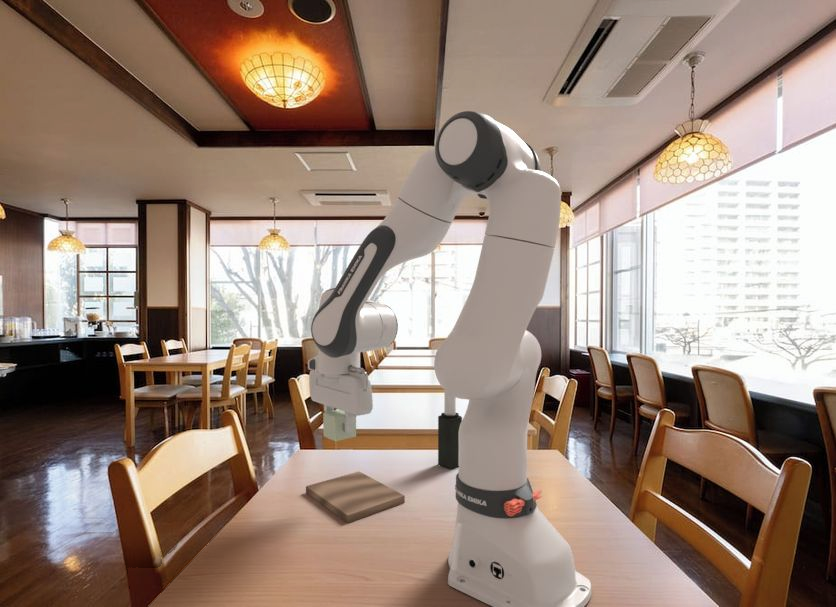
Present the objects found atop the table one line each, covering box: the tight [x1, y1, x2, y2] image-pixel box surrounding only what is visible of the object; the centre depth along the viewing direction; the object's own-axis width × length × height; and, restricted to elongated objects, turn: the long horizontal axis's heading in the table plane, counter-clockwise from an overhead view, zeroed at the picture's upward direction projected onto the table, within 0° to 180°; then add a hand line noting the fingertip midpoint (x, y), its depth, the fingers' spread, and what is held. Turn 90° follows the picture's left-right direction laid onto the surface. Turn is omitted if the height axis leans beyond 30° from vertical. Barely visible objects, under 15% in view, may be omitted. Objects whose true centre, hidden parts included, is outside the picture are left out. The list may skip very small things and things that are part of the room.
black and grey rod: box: [437, 390, 463, 470], centre depth 119 cm, size 5×5×25 cm
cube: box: [322, 409, 357, 442], centre depth 97 cm, size 5×5×5 cm
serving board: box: [305, 471, 406, 524], centre depth 99 cm, size 18×14×2 cm
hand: (339, 428), depth 97 cm, fingers closed on cube, 5 cm apart
